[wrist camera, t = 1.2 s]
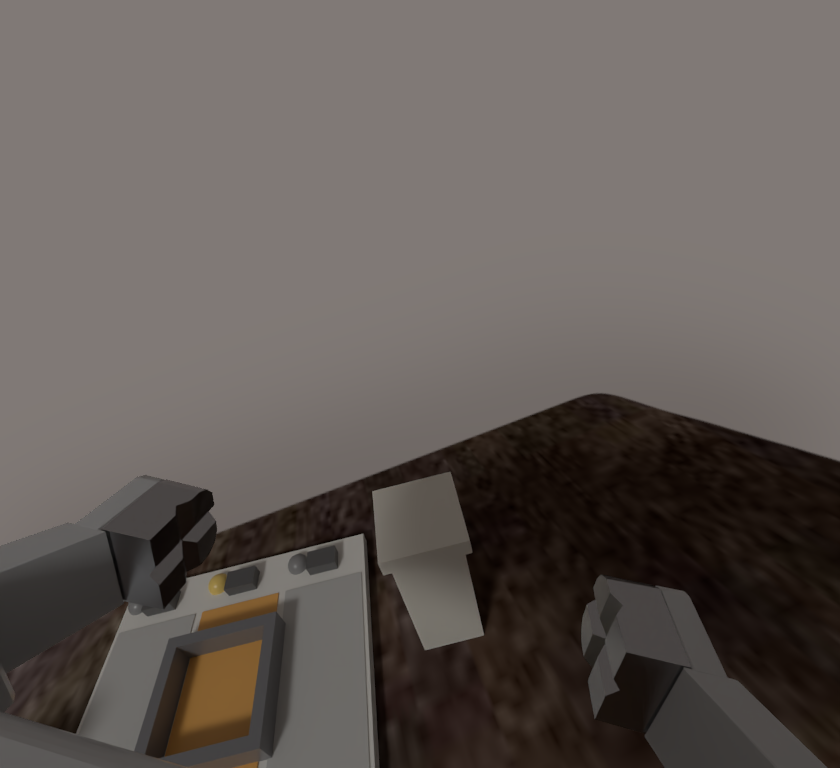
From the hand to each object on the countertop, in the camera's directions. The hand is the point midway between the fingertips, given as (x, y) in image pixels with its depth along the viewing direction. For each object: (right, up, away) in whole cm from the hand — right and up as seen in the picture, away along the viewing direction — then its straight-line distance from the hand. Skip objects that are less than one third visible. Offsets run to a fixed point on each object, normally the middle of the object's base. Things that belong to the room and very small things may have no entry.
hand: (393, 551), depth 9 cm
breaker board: (-13, -18, +23) cm, 32 cm away
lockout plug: (+3, -14, +24) cm, 28 cm away
